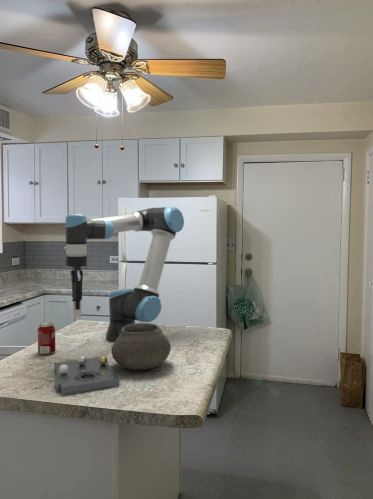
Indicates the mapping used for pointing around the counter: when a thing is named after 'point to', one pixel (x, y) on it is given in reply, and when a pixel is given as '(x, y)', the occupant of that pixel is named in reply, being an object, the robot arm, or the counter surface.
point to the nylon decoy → (63, 369)
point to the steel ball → (81, 360)
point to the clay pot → (140, 346)
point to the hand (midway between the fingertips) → (77, 317)
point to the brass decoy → (103, 360)
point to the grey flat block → (85, 376)
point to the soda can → (46, 339)
